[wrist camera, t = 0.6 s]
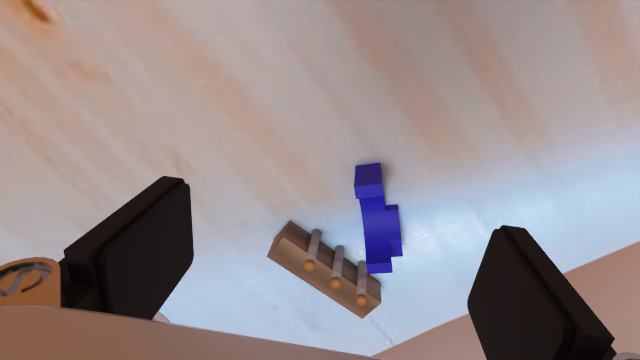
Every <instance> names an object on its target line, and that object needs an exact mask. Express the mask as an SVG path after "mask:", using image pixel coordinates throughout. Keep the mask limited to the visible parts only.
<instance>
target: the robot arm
mask: <svg viewBox="0 0 640 360" xmlns="http://www.w3.org/2000/svg"><path fill="white" fill-rule="evenodd" d="M64 255H65V257H64V258H63V259H62V260H61V261H59V262H56V261H55V260H53V259H49V258H45V257H33V258H26V259H20V260H17V261H13V262H10V263H7V264H5V265H2V266H0V360H386V359H380V358H374V357H368V356H363V355H357V354H351V353H345V352H339V351H333V350H327V349H322V348H316V347H310V346H304V345H298V344H292V343H286V342H280V341H274V340H268V339H262V338H256V337H250V336H244V335H238V334H232V333H226V332H220V331H214V330H208V329H202V328H196V327H190V326H184V325H178V324H172V323H165V322H159V321H153V320H152V319H153V318H154V316H155V315H156V313H157V312H158V311H159V309H160V308H161V306H162V305H163V304H164V302H165V301H166V299H167V298H168V297H169V295H170V294H171V293H172V291H173V290H174V288H175V287H176V286H177V284H178V283H179V281H180V280H181V279H182V277H183V276H184V274H185V273H186V272H187V270H188V269H189V267H190V266H191V264H192V261H193V257H194V251H193V234H192V216H191V199H190V187H189V185H188V184H185V182H184V180H183V179H182V178H175V177H168V176H163V177H161V178H159V179H158V180H157V181H155V182H154V183H153V184H151V185H150V186H149V187H147V188H146V189H145V190H143V191H142V192H141V193H139V194H138V195H137V196H135V197H134V198H133V199H131V200H130V201H129V202H127V203H126V204H125V205H123V206H122V207H121V208H119V209H118V210H117V211H115V212H114V213H113V214H111V215H110V216H109V217H107V218H106V219H105V220H103V221H102V222H101V223H99V224H98V225H97V226H95V227H94V228H93V229H91V230H90V231H89V232H87V233H86V234H85V235H83V236H82V237H81V238H79V239H78V240H77V241H75V242H74V243H73V244H71V245H70V246H69V247H67V248H66V249H65V250H64ZM468 311H469V314H470V316H471V319H472V321H473V324H474V327H475V329H476V332H477V335H478V337H479V340H480V343H481V345H482V348H483V350H484V353H485V356H486V358H487V360H640V355H639V354H636V353H630V352H622V353H618V354H617V353H616V352H615V350H614V349H613V348H612V347H611V344H612V343H613V341H614V339H615V338H614V337H613V336H612V335H611V333H610V332H609V331H608V330H607V328H606V327H605V326H604V325H603V323H602V322H601V321H600V320H599V319H598V317H597V316H596V315H595V314H594V312H593V311H592V310H591V309H590V307H589V306H588V305H587V304H586V303H585V301H584V300H583V299H582V298H581V296H580V295H579V294H578V293H577V291H576V290H575V289H574V288H573V287H572V285H571V284H570V283H569V282H568V280H567V279H566V278H565V277H564V276H563V274H562V273H561V272H560V271H559V269H558V268H557V267H556V266H555V264H554V263H553V262H552V261H551V260H550V258H549V257H548V256H547V255H546V253H545V252H544V251H543V250H542V248H541V247H540V246H539V245H538V244H537V242H536V241H535V240H534V239H533V237H532V236H531V235H530V234H529V232H528V231H527V230H526V229H525V228H520V227H513V226H506V225H503V226H501V227H500V228H499V229H495V230H494V231H493V232H492V235H491V238H490V240H489V243H488V246H487V248H486V251H485V254H484V256H483V259H482V262H481V265H480V267H479V270H478V273H477V275H476V278H475V281H474V284H473V286H472V289H471V292H470V294H469V297H468Z"/></svg>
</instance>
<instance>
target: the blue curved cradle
mask: <svg viewBox="0 0 640 360" xmlns="http://www.w3.org/2000/svg"><path fill="white" fill-rule="evenodd" d="M354 189H355V195H356V199H359V201H360V206H361V212H362V218H363V227H364V236H365V248H366V267H367V273H368V274H376V273H392V262H391V257H397V256H403V253H402V243H401V234H400V226H399V217H398V208H397V204H396V205H386V206H385V201H384V192H383V183H382V175H381V166H380V163H375V164H366V165H358V166H356V167H355V182H354Z"/></svg>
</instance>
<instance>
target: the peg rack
mask: <svg viewBox="0 0 640 360" xmlns="http://www.w3.org/2000/svg"><path fill="white" fill-rule="evenodd" d="M320 236H321V231H320V230H318V229H315V230H313V232H312V235H310V234H309V233H307V232H306V231H304V230H303V229H301V228H300V227H299V226H297V225H296V224H294V223H293V222H291V221H289V222H288V223H287V224H286V226H285V227H284V228H283V229H282V230H281V232H280V233H279V234H278V235H277V236H276V237H275V239H274V241H273V243H272V246H271V248H270V250H269V253H268V255H267V257H268V258H270V259H271V260H273V261H274V262H276V263H278V264H279V265H281V266H282V267H284V268H285V269H287V270H288V271H290V272H291V273H293V274H294V275H296V276H297V277H299V278H301V279H302V280H304V281H305V282H307V283H308V284H310V285H311V286H313V287H314V288H316V289H317V290H319V291H320V292H322V293H323V294H325V295H327V296H328V297H330V298H331V299H333V300H334V301H336V302H337V303H339V304H340V305H342V306H343V307H345V308H346V309H348V310H350V311H351V312H353V313H354V314H356V315H357V316H359V317H360V318H362V319H363V318H364V317H365V316H366V315H367V314H369V313H370V312H371V311H372V310H373V309H374V308H376V307H377V306H378V305H379V304H380V303H381V289H380V282H379V281H378V280H376V279H375V278H373V277H372V276H370V275H369V274H367V273H366V262H365V261H359V262H358V267H357V266H356V265H354V264H353V263H351V262H350V261H348V260H347V259H345V258H344V257H343V254H344V247H343V246H341V245H338V246H336V248H335V251H334V250H332V249H331V248H329V247H328V246H326V245H325V244H323V243H322V242H321V241H320Z"/></svg>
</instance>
